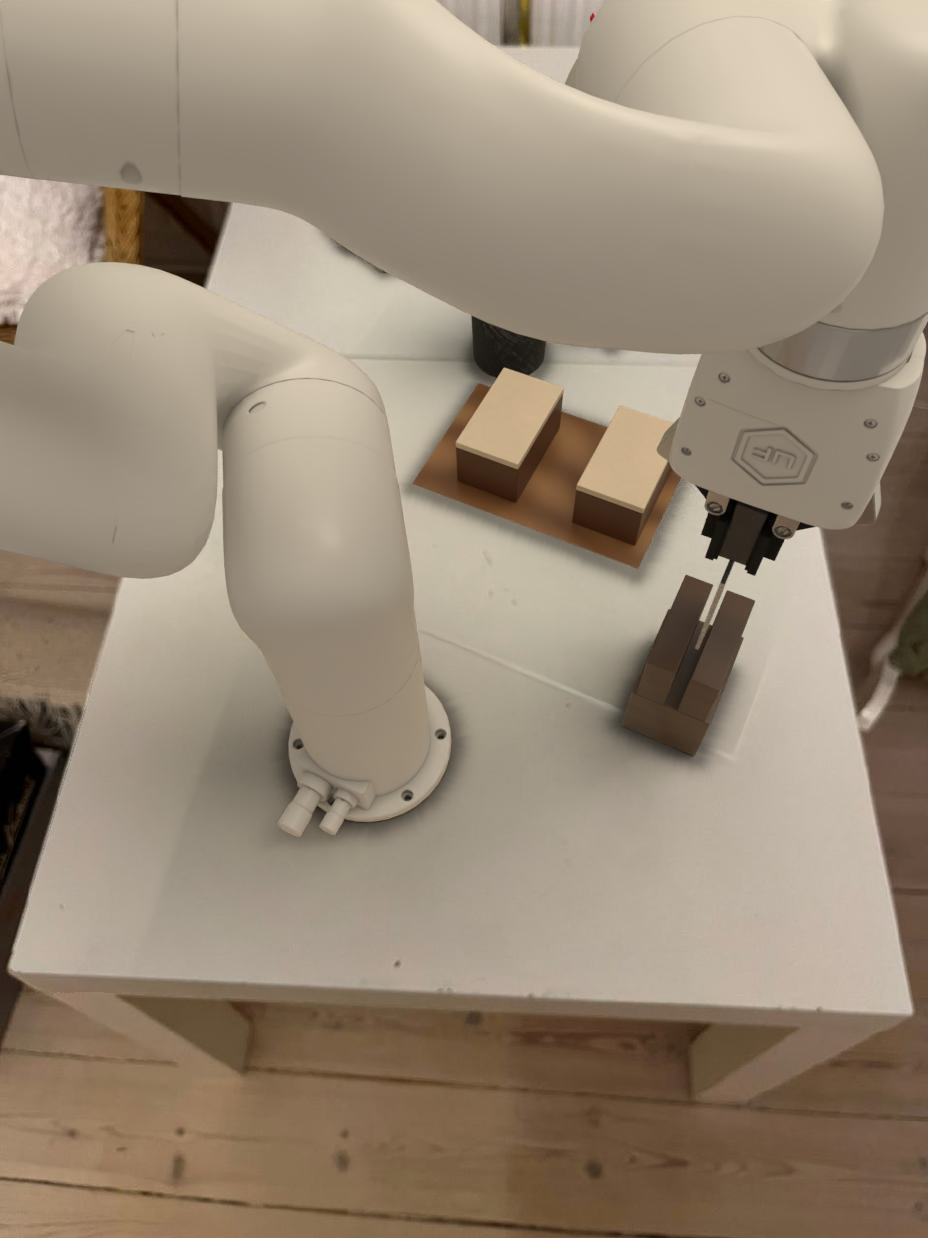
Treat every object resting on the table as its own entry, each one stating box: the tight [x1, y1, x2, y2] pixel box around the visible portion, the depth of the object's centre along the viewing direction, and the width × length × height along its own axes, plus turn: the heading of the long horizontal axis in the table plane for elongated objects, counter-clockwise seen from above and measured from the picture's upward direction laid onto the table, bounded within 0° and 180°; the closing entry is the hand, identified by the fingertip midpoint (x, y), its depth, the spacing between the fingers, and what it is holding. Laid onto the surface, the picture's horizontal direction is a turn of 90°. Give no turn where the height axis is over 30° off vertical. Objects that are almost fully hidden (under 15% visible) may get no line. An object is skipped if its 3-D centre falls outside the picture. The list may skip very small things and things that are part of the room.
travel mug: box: [470, 315, 547, 379], centre depth 85 cm, size 8×8×20 cm
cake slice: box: [572, 405, 674, 546], centre depth 81 cm, size 10×6×5 cm, turn 154°
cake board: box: [412, 383, 682, 570], centre depth 85 cm, size 14×22×1 cm, turn 64°
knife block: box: [621, 574, 756, 757], centre depth 69 cm, size 8×6×11 cm
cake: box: [456, 368, 565, 502], centre depth 84 cm, size 10×6×5 cm, turn 154°
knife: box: [695, 501, 769, 650], centre depth 57 cm, size 6×2×13 cm, turn 154°
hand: (737, 548), depth 55 cm, fingers closed on knife, 1 cm apart
